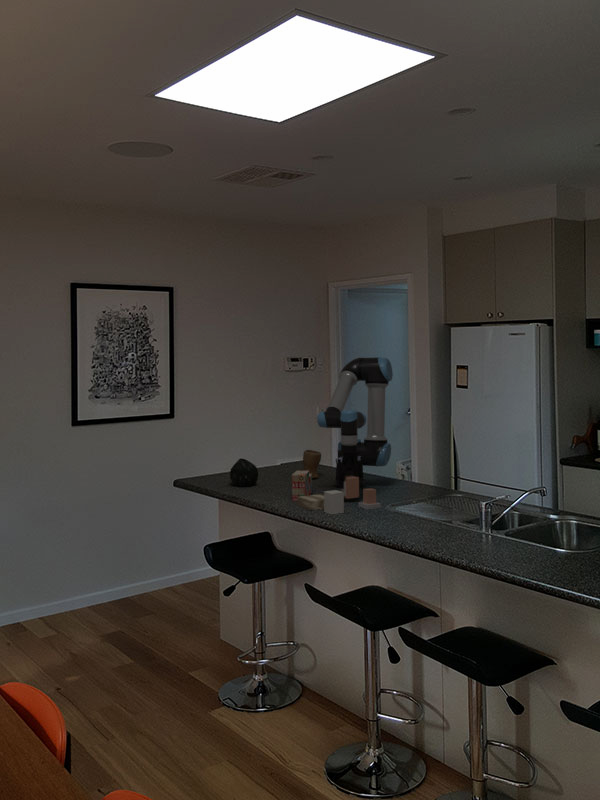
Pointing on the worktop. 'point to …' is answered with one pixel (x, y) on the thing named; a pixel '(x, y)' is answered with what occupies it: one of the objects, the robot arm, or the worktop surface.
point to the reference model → (369, 499)
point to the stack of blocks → (301, 484)
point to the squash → (243, 473)
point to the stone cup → (311, 462)
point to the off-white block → (333, 502)
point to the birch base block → (311, 502)
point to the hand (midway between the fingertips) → (349, 494)
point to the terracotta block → (352, 487)
